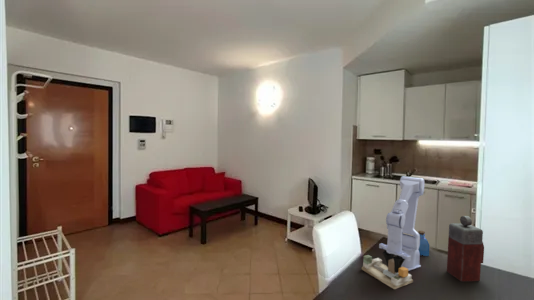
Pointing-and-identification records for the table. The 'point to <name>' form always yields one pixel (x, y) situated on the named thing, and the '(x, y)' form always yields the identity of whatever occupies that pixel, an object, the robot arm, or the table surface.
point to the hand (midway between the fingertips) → (393, 269)
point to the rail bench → (376, 270)
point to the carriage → (390, 269)
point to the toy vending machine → (465, 250)
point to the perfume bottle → (423, 244)
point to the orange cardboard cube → (403, 272)
